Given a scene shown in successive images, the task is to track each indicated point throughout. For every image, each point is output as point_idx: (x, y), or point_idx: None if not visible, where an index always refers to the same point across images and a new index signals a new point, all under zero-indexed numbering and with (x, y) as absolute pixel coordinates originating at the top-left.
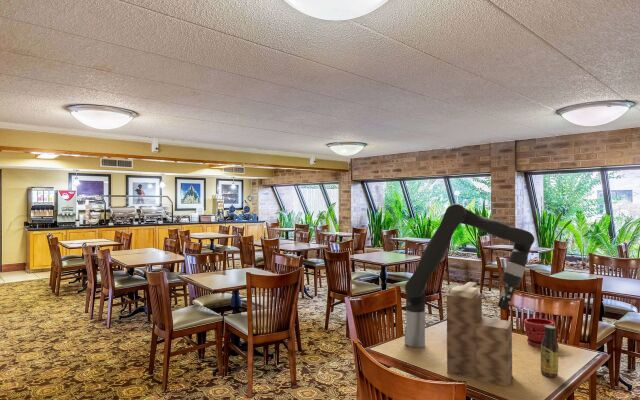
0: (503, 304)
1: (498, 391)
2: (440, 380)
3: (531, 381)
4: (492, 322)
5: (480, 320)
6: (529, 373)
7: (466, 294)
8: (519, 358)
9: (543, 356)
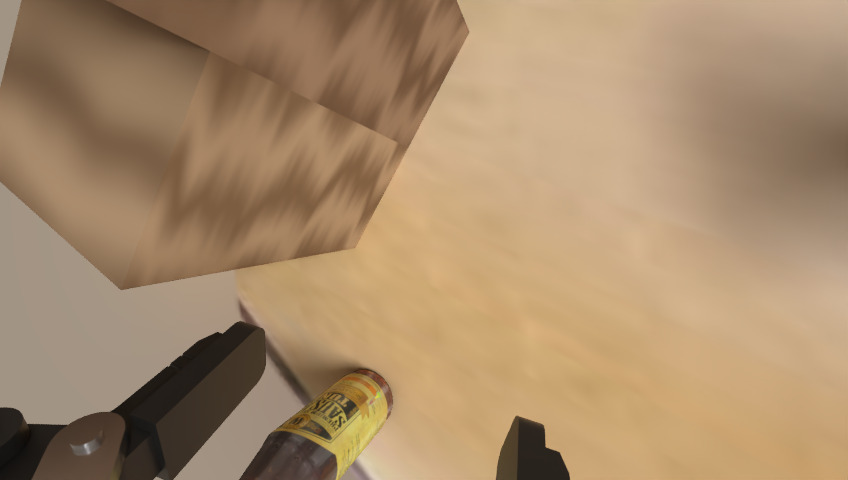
0: (165, 369)
1: None
2: None
3: (313, 293)
4: (80, 104)
5: (115, 7)
6: (376, 326)
7: None
8: (539, 380)
9: (312, 403)
